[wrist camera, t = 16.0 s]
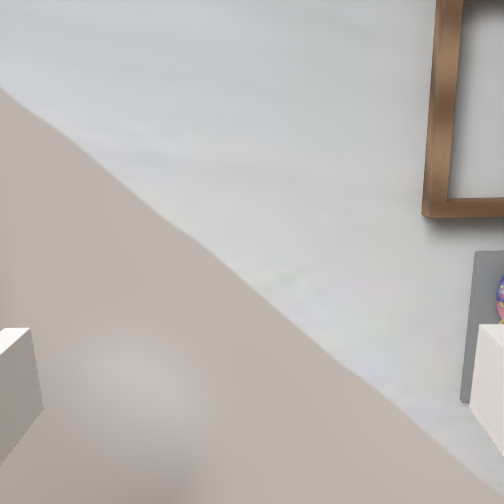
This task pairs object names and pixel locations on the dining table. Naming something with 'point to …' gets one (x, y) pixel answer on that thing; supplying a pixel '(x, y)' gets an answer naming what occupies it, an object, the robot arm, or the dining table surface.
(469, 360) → the mat
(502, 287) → the mug
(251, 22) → the dining table surface
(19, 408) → the robot arm
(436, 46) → the frame
